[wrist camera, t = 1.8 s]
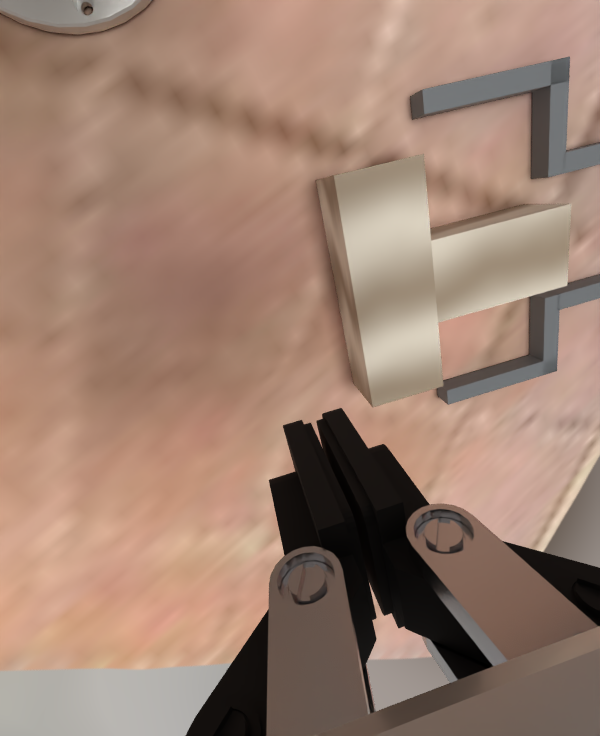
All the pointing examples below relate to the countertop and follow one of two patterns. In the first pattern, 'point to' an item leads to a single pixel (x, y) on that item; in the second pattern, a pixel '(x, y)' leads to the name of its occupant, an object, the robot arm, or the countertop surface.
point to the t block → (425, 270)
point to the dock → (546, 162)
